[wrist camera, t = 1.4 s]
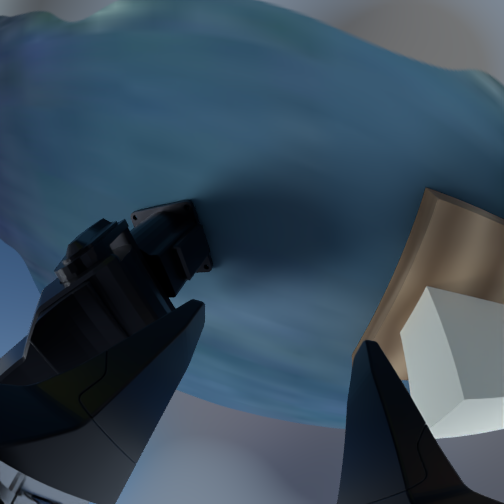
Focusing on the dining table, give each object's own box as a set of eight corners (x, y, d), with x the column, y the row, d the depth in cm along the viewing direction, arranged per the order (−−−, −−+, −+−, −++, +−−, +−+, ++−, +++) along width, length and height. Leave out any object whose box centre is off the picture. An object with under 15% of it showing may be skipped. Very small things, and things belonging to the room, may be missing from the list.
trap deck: (352, 354, 26) (351, 403, 21) (425, 187, 16) (460, 220, 11) (508, 369, 22) (519, 401, 17) (578, 262, 13) (602, 291, 8)
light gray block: (400, 332, 20) (414, 439, 12) (426, 285, 18) (464, 399, 9) (500, 346, 18) (526, 422, 10) (526, 309, 16) (563, 386, 7)
